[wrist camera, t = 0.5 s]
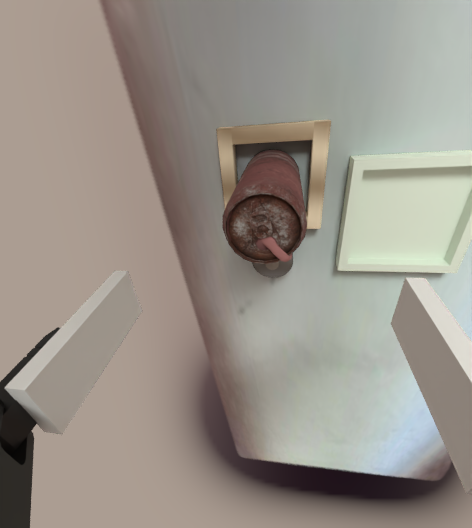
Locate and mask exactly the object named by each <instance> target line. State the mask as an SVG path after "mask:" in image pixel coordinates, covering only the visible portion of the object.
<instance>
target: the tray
mask: <svg viewBox="0 0 472 528" xmlns="http://www.w3.org/2000/svg"><path fill="white" fill-rule="evenodd" d="M471 239H472V150H459V151H439V152H418V153H398V154H378V155H358V156H350V162H349V169H348V176H347V183H346V190H345V197H344V205H343V212H342V219H341V226H340V233H339V240H338V247H337V254H336V261H335V262H336V266H337V269H338V271H381V272H429V273H457V271H458V269H459V267H460V264H461V262H462V260H463V258H464V255H465V253H466V251H467V248H468V246H469V244H470V242H471Z"/></svg>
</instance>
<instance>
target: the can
mask: <svg viewBox="0 0 472 528" xmlns="http://www.w3.org/2000/svg"><path fill="white" fill-rule="evenodd" d="M306 228H307V219H306V213H305V206H304V200H303V193H302V187H301V181H300V174H299V168H298V166H297V164H296V162H295V160H294V159H293V158H292V157H291V156H290V155H289V154H287V153H285V152H283V151H280V150H271V149H270V150H266V151H262V152H260V153H259V154H257V155H256V156H254V157H253V158H252V159H251V161H250V162H249V163H248V165H247V167H246V168H245V170H244V172H243V174H242V176H241V178H240V180H239V182H238V184H237V186H236V188H235V190H234V192H233V194H232V196H231V198H230V199H229V201H228V203H227V206H226V208H225V211H224V214H223V231H224V233H225V236H226V239H227V241H228V243H229V245H230V246H231V248H232V249H233V250H234V252H235V253H237V254H238V255H239V256H241V257H242V258H243V259H245V260H248V261H251V262H253V263H259V264H270V263H276V262H279V261H284V262H287V261H289V260H291V259H292V253H293V252H294V251H295V250H296V249H297V248H298V247H299V245H300V244H301V242H302V240H303V239H304V237H305V233H306Z"/></svg>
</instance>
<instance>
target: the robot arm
mask: <svg viewBox="0 0 472 528" xmlns="http://www.w3.org/2000/svg"><path fill="white" fill-rule="evenodd" d="M141 312H142V309H141V306H140V303H139V300H138V298H137V295H136V292H135V289H134V286H133V283H132V281H131V278H130V275H129V272H128V271H114V272H113V273H112V274H111V275H110V276H109V277H108V279H107V280H106V281H105V282H104V283H103V284H102V285H101V286H100V287H99V288H98V289H97V290H96V291H95V292H94V293H93V294H92V295H91V296H90V298H89V299H88V300H87V301H86V302H85V303H84V304H83V305H82V306H81V307H80V308H79V309H78V310H77V311H76V312H75V313H74V315H73V316H72V317H71V318H70V319H69V320H68V321H67V322H66V323H65V324H64V325H63V326H62V327H61V328H56V329H55V330H54V331H52V332H50V333H49V334H48V335H46V336H45V337H44V338H43V339H42V340H41V341H40V342H39V343H38V344H37V345H36V346H35V348H33V349H32V350H31V351H30V352H29V353H28V354H27V357H24V358H23V360H21V361H20V362H19V363H18V364H17V366H15V368H14V369H12V371H11V372H10V373H9V374H8V375H7V376H6V377H5V378H4V379H3V380H2V381H1V382H0V528H30V510H31V490H32V489H31V488H32V469H33V468H32V467H33V448H34V436H33V433H32V432H31V430H32V429H33V427H34V426H35V425H36V424H38V425H39V427H40V428H41V429H42V430H43V431H44V432H50V433H56V434H63V432H64V431H65V429H66V428H67V426H68V425H69V423H70V421H71V420H72V419H73V417H74V415H75V414H76V412H77V411H78V409H79V408H80V406H81V405H82V403H83V402H84V400H85V398H86V397H87V395H88V394H89V392H90V391H91V389H92V388H93V386H94V385H95V383H96V382H97V380H98V379H99V377H100V375H101V374H102V372H103V371H104V369H105V367H106V366H107V365H108V363H109V362H110V360H111V358H112V357H113V355H114V354H115V352H116V351H117V349H118V348H119V346H120V344H121V343H122V342H123V340H124V338H125V337H126V335H127V334H128V332H129V331H130V329H131V327H132V326H133V324H134V323H135V321H136V320H137V318H138V317H139V315H140V314H141ZM391 325H392V327H393V330H394V332H395V334H396V336H397V339H398V341H399V343H400V345H401V348H402V350H403V352H404V354H405V356H406V359H407V361H408V363H409V365H410V368H411V370H412V372H413V374H414V377H415V379H416V381H417V383H418V386H419V388H420V390H421V392H422V395H423V397H424V399H425V401H426V404H427V406H428V408H429V410H430V413H431V415H432V417H433V419H434V422H435V424H436V426H437V428H438V431H439V433H440V435H441V437H442V440H443V442H444V444H445V446H446V449H447V451H448V453H449V455H450V458H451V460H452V462H453V464H454V467H455V469H456V471H457V473H458V475H459V478H460V480H461V482H462V484H463V487H464V489H465V491H466V493H467V494H472V341H471V340H470V339H469V337H468V336H467V335H466V333H465V332H464V330H463V329H462V328H461V326H460V325H459V324H458V322H457V321H456V320H455V318H454V317H453V315H452V314H451V313H450V311H449V310H448V309H447V307H446V306H445V305H444V303H443V302H442V300H441V299H440V298H439V296H438V295H437V294H436V292H435V291H434V290H433V288H432V287H431V285H430V284H429V283H428V281H427V280H426V279H425V278H405V281H404V284H403V287H402V290H401V293H400V296H399V300H398V303H397V306H396V309H395V312H394V315H393V318H392V322H391Z"/></svg>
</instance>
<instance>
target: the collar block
mask: <svg viewBox="0 0 472 528" xmlns="http://www.w3.org/2000/svg"><path fill="white" fill-rule="evenodd" d="M330 126H331V121H330V120H316V121H302V122H289V123H275V124H261V125H247V126H234V127H220V128H218V129H216V130H217V139H218V149H219V158H220V168H221V177H222V186H223V196H224V205H225V208H226V206H227V203H228V201H229V199H230V198H231V196H232V194H233V192H234V190H235V188H236V186H237V184H238V177H237V164H236V150H235V144H251V143H267V142H283V141H300V140H312V143H311V158H310V173H309V188H308V203H307V211H305V213H306V219H307V228H306V229H320V228H321V218H322V208H323V198H324V187H325V177H326V167H327V157H328V146H329V136H330ZM292 264H293V253H292V259H291V260H289V261H287V262H284V261H279V262H276V263H270V264H259V263H253V266H254V268H255V269H256V270H257V271H258V272H259V273H260V274H262V275H264V276H267V277H279V276H282V275H284V274H286V273H287V272H288V271H289V270H290V269H291V267H292Z"/></svg>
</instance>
